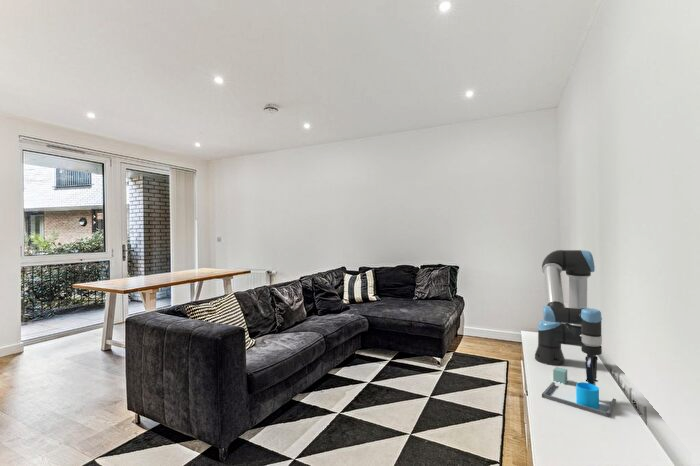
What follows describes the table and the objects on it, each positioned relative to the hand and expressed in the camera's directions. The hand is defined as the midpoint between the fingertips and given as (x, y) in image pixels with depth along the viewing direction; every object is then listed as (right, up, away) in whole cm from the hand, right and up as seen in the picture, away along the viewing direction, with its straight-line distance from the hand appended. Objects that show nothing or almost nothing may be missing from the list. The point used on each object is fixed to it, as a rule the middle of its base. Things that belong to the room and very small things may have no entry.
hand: (591, 395), depth 158 cm
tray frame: (-6, -2, 0) cm, 7 cm away
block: (-3, -1, +19) cm, 19 cm away
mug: (-4, -2, -3) cm, 6 cm away
